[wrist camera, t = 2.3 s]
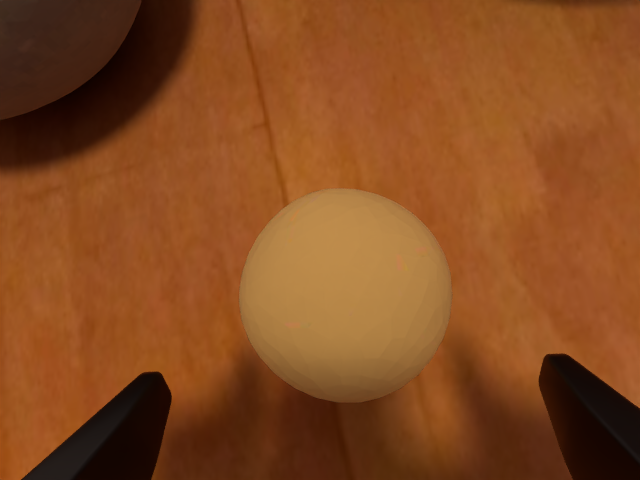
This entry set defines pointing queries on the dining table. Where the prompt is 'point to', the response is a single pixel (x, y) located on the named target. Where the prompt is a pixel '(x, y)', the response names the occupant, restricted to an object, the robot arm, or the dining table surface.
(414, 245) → the light bulb
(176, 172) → the dining table surface
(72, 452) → the robot arm
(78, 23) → the bowl
